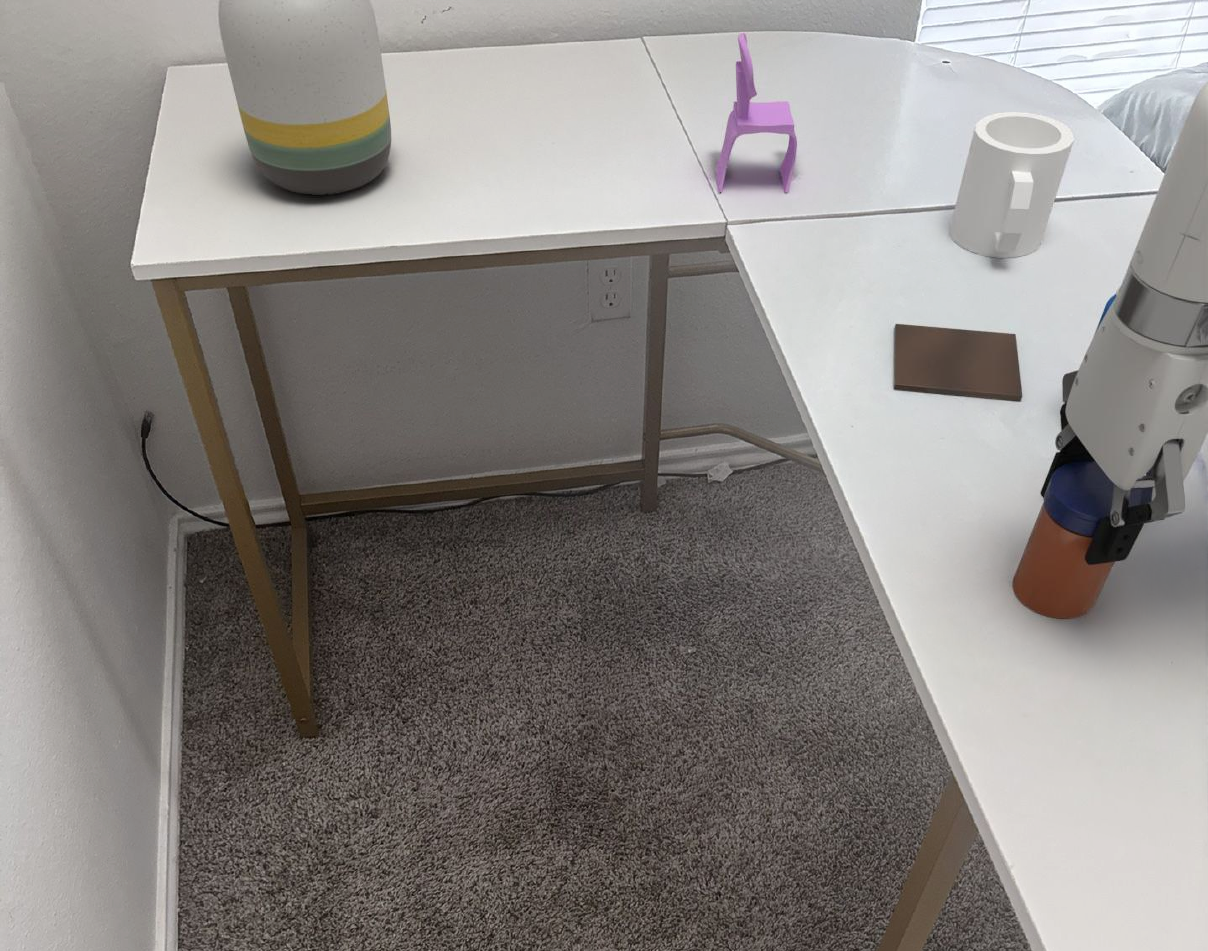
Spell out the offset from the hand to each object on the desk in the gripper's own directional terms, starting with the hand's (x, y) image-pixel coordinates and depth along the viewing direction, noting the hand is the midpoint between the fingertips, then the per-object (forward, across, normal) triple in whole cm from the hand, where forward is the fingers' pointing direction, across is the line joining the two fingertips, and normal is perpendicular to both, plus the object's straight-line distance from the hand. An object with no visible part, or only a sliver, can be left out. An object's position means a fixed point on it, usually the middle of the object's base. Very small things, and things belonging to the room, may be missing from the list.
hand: (1082, 525), depth 83 cm
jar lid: (-3, 0, 0) cm, 3 cm away
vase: (+7, +85, +55) cm, 102 cm away
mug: (+7, +55, -18) cm, 58 cm away
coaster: (+7, +32, -4) cm, 33 cm away
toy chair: (+7, +74, +5) cm, 75 cm away
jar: (+7, 0, 0) cm, 7 cm away
